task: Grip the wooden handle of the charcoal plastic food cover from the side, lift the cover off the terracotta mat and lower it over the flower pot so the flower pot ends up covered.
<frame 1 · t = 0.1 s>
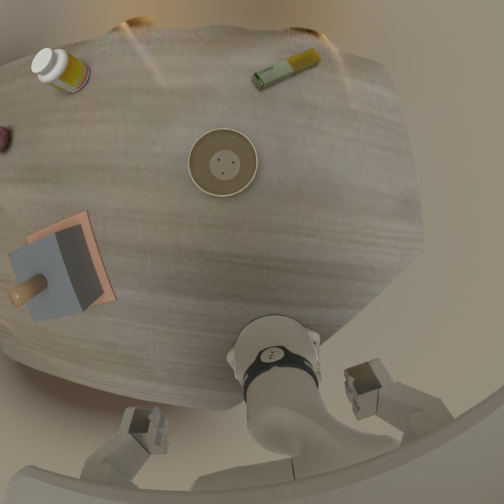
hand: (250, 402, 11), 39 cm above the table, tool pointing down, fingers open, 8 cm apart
cover: (66, 267, 48), resting on mat
flower pot: (225, 164, 46), on the table
mat: (67, 266, 48), on the table
supplement bottle: (77, 79, 40), on the table
vegetable: (7, 141, 41), on the table
medication box: (284, 73, 42), on the table
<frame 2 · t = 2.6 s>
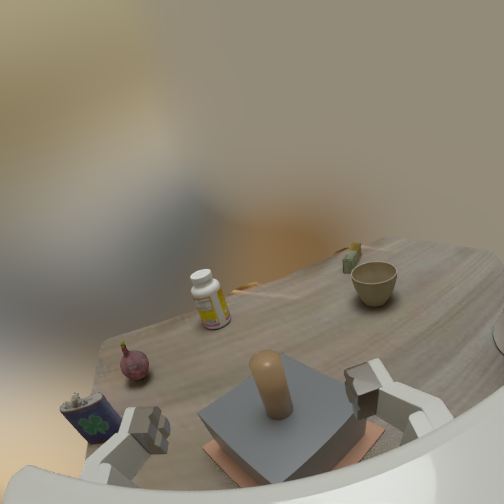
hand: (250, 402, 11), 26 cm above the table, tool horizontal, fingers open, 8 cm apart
cover: (291, 445, 31), resting on mat
flower pot: (375, 301, 57), on the table
mat: (291, 446, 31), on the table
supplement bottle: (217, 322, 65), on the table
flask: (108, 436, 37), on the table
vegetable: (143, 379, 51), on the table
medication box: (353, 264, 76), on the table
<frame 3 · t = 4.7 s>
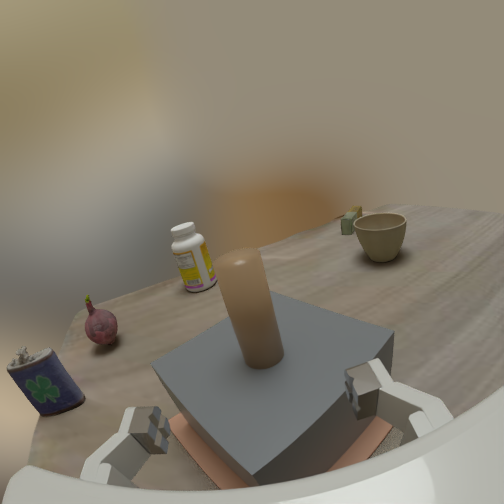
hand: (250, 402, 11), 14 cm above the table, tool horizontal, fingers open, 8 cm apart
cover: (284, 420, 23), resting on mat
flower pot: (382, 257, 50), on the table
mat: (284, 422, 23), on the table
supplement bottle: (202, 285, 58), on the table
flask: (62, 407, 29), on the table
vegetable: (111, 345, 43), on the table
medication box: (353, 227, 69), on the table
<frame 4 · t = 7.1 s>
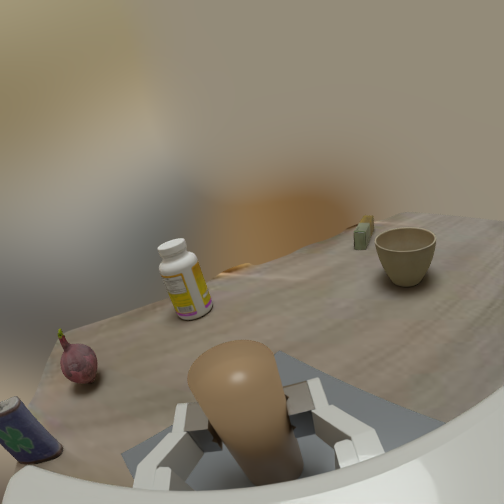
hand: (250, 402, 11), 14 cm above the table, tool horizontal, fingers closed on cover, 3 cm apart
flower pot: (406, 280, 41), on the table
supplement bottle: (195, 311, 49), on the table
flask: (40, 456, 20), on the table
vegetable: (92, 383, 34), on the table
medication box: (365, 240, 60), on the table
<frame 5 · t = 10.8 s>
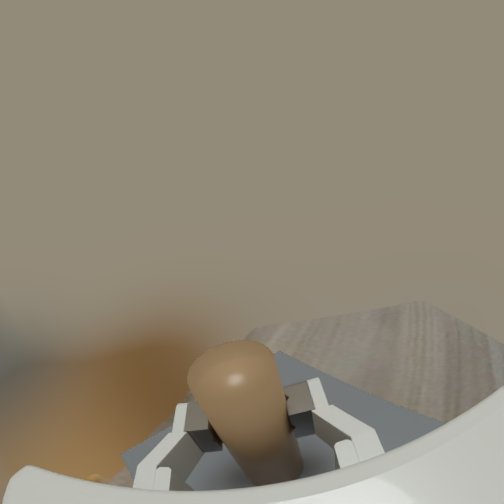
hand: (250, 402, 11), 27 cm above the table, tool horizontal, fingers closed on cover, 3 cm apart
when the fingers open (15 cm above the table, at t = 14.8 s): cover drops 1 cm, on the table.
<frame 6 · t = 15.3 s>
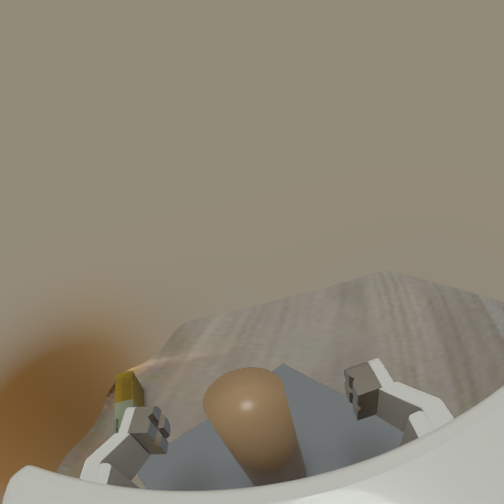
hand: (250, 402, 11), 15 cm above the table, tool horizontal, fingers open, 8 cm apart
medication box: (139, 423, 28), on the table
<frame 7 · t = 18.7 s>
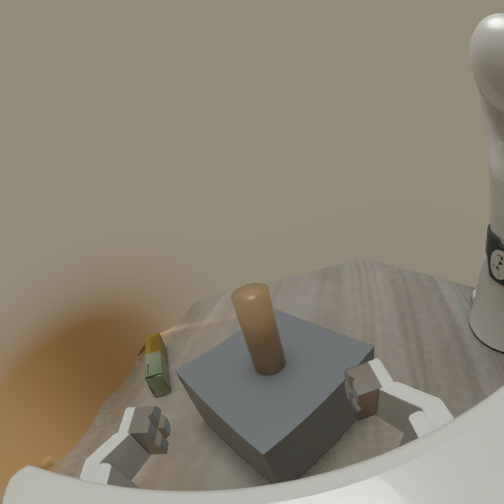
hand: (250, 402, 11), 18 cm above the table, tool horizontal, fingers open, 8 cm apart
cover: (285, 416, 28), on the table
medication box: (162, 372, 41), on the table
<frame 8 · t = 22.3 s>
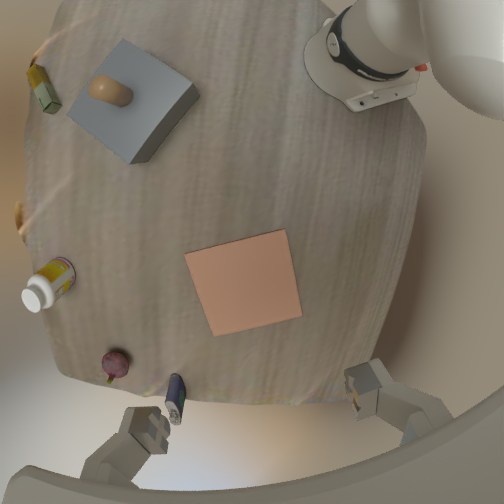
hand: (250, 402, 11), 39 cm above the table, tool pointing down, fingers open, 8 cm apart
cover: (142, 105, 40), on the table
mat: (246, 286, 52), on the table
supplement bottle: (64, 271, 49), on the table
flask: (179, 385, 60), on the table
vegetable: (120, 354, 57), on the table
medication box: (49, 89, 37), on the table
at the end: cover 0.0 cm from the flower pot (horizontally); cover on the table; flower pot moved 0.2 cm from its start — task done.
